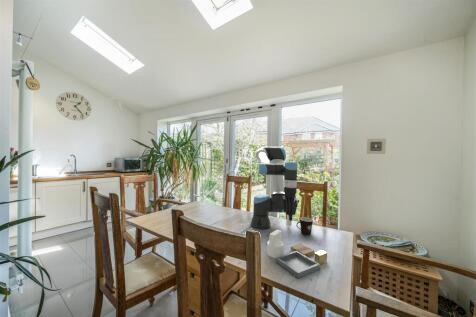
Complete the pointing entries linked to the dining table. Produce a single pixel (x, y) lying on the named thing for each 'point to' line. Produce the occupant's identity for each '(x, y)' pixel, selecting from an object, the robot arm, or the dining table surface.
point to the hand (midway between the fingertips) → (289, 225)
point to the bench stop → (320, 257)
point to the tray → (297, 264)
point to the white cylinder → (275, 244)
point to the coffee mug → (305, 225)
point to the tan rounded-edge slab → (302, 250)
